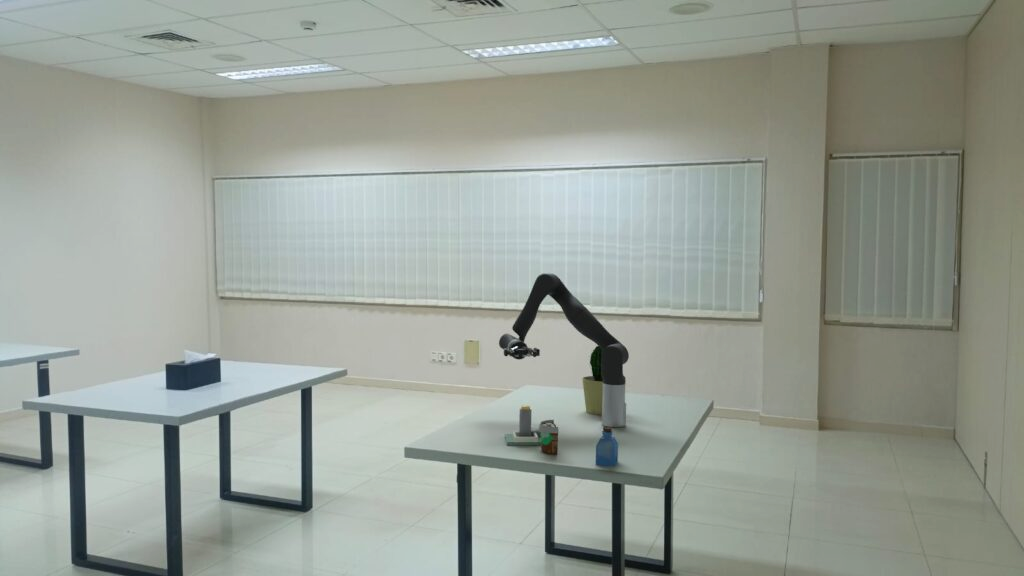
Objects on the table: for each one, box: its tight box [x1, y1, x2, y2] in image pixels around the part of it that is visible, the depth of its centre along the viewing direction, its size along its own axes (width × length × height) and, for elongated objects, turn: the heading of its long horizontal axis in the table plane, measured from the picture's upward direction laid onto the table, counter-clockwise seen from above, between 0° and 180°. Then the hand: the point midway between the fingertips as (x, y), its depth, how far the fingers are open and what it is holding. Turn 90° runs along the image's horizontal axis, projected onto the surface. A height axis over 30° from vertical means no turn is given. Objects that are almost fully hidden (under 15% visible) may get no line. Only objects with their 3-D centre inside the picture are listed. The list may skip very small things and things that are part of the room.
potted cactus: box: [581, 345, 603, 415], centre depth 326 cm, size 15×15×30 cm
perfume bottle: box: [595, 426, 619, 467], centre depth 247 cm, size 6×6×12 cm
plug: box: [518, 405, 532, 437], centre depth 272 cm, size 4×4×12 cm
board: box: [504, 428, 541, 446], centre depth 274 cm, size 14×12×3 cm
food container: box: [538, 419, 559, 456], centre depth 261 cm, size 12×6×10 cm, turn 5°
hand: (524, 354), depth 290 cm, fingers open, 8 cm apart
